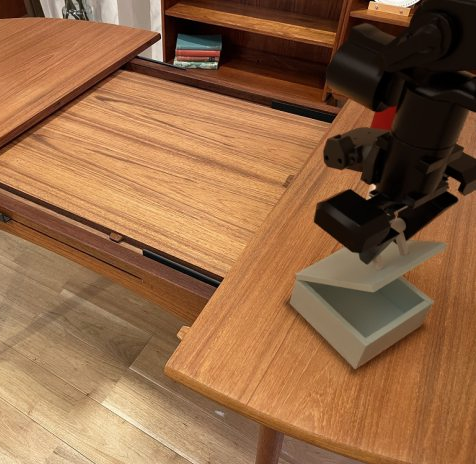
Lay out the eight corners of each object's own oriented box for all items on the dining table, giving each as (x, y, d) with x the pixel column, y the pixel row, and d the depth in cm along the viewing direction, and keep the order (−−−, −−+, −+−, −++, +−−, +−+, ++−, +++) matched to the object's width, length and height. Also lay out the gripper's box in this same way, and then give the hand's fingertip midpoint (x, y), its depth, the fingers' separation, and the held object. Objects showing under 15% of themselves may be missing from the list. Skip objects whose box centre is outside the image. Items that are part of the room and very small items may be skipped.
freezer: (420, 325, 64) (434, 301, 61) (355, 369, 60) (366, 346, 56) (352, 267, 71) (361, 243, 68) (289, 303, 67) (295, 279, 64)
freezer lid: (447, 248, 56) (436, 206, 55) (373, 292, 52) (360, 247, 51) (362, 243, 68) (352, 208, 67) (296, 279, 63) (284, 242, 62)
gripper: (418, 72, 55) (382, 186, 66) (286, 125, 48) (269, 242, 59) (517, 116, 48) (458, 236, 58) (378, 185, 41) (340, 306, 52)
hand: (381, 252), depth 57 cm, fingers closed on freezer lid, 5 cm apart
